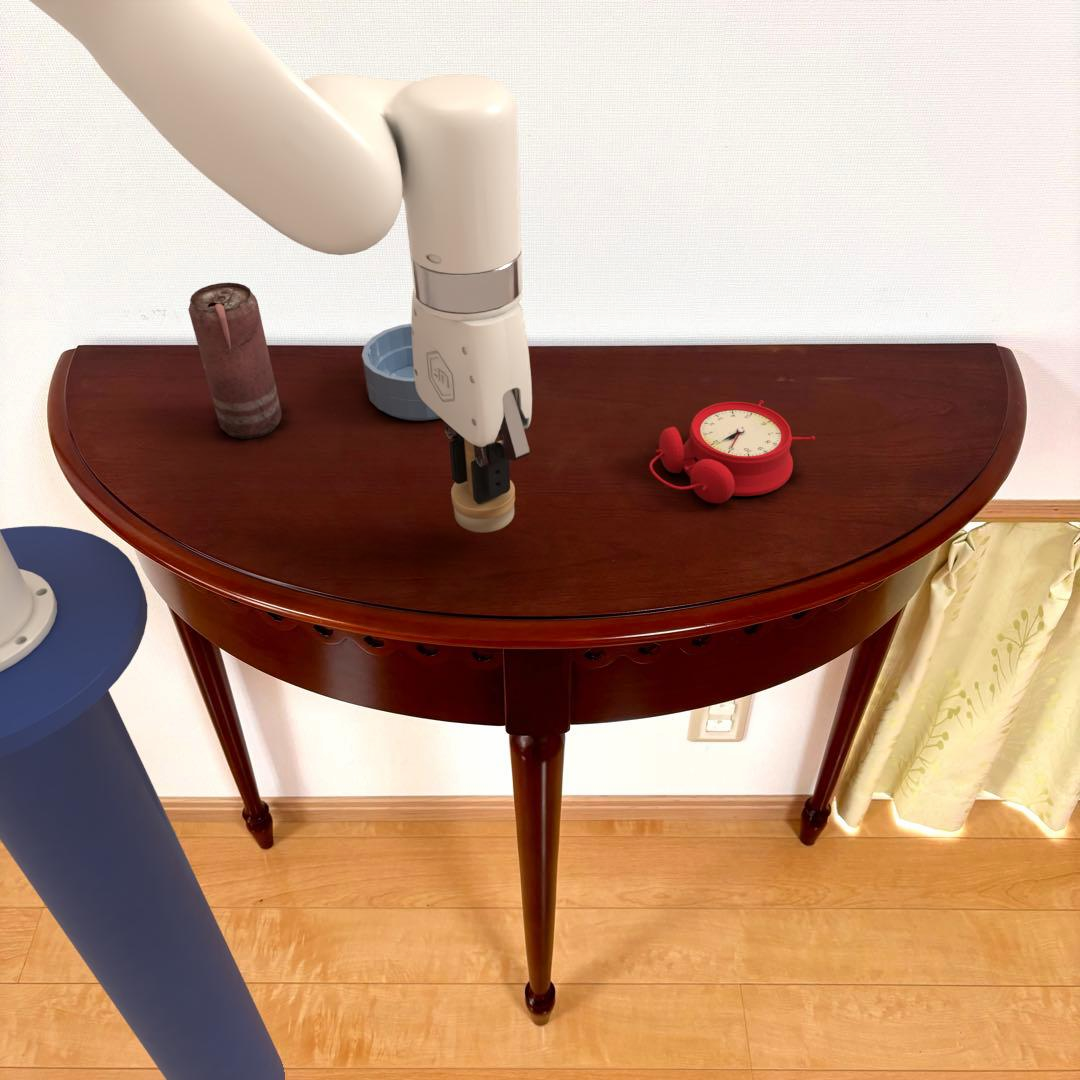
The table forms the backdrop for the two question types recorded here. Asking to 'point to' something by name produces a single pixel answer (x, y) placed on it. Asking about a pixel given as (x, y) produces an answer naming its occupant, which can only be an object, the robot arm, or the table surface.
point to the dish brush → (480, 515)
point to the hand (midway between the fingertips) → (481, 485)
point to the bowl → (394, 375)
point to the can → (235, 359)
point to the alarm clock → (730, 451)
